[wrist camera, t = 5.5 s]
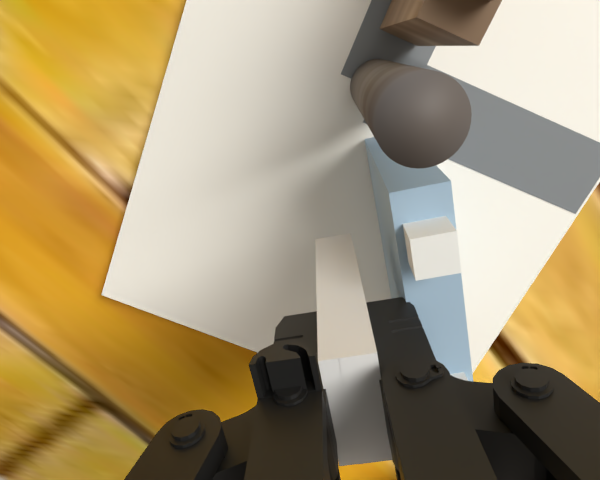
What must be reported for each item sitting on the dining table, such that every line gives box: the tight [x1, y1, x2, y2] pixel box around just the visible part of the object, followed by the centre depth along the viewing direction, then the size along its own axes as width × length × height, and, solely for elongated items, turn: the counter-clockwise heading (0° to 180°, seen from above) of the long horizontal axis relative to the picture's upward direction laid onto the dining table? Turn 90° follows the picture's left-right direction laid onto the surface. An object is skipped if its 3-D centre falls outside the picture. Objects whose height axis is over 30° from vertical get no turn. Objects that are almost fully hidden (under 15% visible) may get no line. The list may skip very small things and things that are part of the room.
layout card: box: [102, 0, 600, 373], centre depth 18 cm, size 16×21×1 cm
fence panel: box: [365, 137, 473, 382], centre depth 15 cm, size 1×7×8 cm, turn 12°
